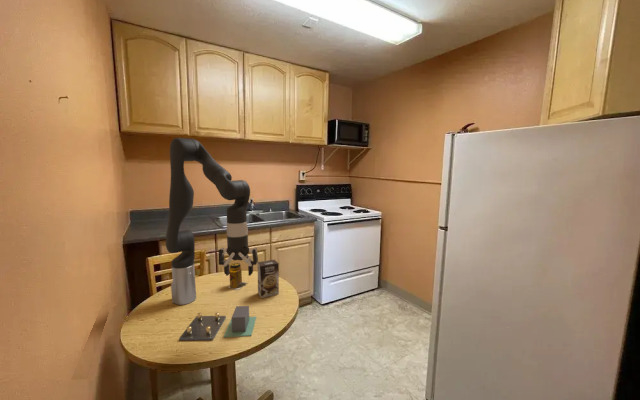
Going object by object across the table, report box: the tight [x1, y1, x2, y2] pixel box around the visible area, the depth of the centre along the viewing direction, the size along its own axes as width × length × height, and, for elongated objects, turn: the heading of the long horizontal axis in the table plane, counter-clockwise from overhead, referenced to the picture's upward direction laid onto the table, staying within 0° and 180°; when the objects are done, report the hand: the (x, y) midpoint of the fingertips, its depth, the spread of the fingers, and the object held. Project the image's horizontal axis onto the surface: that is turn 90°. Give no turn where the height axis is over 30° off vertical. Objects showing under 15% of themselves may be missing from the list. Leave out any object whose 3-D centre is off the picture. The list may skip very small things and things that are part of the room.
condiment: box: [226, 262, 248, 291], centre depth 138 cm, size 7×8×12 cm
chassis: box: [179, 312, 227, 341], centre depth 102 cm, size 12×14×4 cm
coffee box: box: [257, 259, 280, 299], centre depth 130 cm, size 9×6×16 cm
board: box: [223, 305, 257, 338], centre depth 103 cm, size 10×12×7 cm
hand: (239, 274), depth 101 cm, fingers open, 8 cm apart
